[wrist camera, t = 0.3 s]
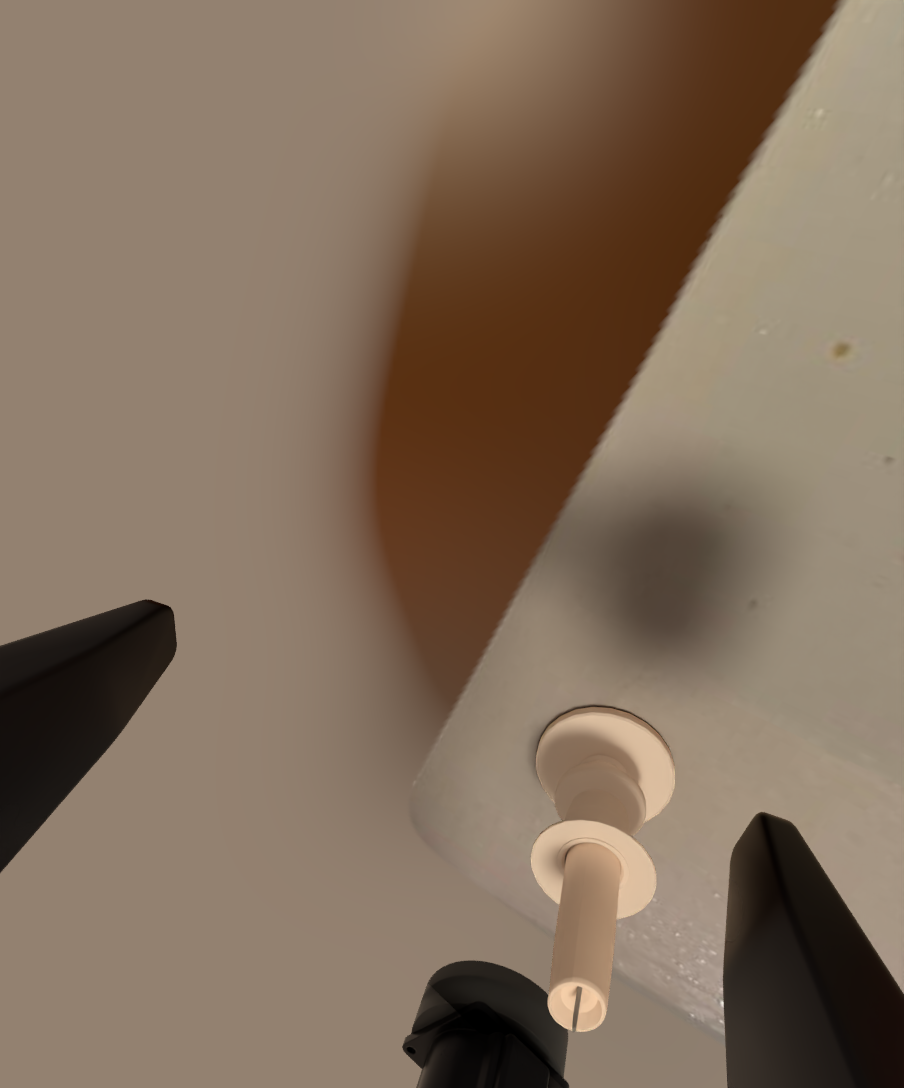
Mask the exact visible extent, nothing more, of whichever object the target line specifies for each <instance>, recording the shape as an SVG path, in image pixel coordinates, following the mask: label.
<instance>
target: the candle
mask: <svg viewBox="0 0 904 1088" xmlns="http://www.w3.org/2000/svg"><path fill="white" fill-rule="evenodd" d="M536 769H537V774H538V777H539V780H540V782H541V785H542V787H543V789H544V790H545V791H546V793H547V794H548V796H549V797H550V799H551V800H552V801H553V802H554V803H555V807H556V810H557V813H558V815H559V817H560V818H561V820H562V821H560V822H558V823H555V824H552V825H551V826H549V827H548V828H546V829H545V830H544V831H542V832H541V833H540V835H539V836H538V838H537V839H536V841H535V842H534V845H533V849H532V853H531V865H532V870H533V873H534V876H535V878H536V881H537V882H538V884H539V885H540V886H541V888H542V889H543V891H544V892H545V893H546V894H547V895H548V896H549V897H550V898H551V899H553V900H554V901H555V902H556V903H557V904H559V912H558V919H557V926H556V933H555V940H554V948H553V959H552V968H551V978H550V988H549V996H548V1008H549V1011H550V1014H551V1015H552V1017H553V1018H554V1020H555V1021H556V1022H557V1023H559V1024H560V1025H561V1026H563V1027H565V1028H566V1029H569V1030H572V1031H573V1032H575V1031H578V1032H584V1031H590V1030H592V1029H595V1028H596V1027H598V1026H599V1025H600V1024H601V1023H602V1022H603V1020H604V1019H605V1016H606V1012H607V1006H608V998H609V989H610V980H611V972H612V963H613V955H614V944H615V932H616V920H617V919H621V918H625V917H628V916H632V915H634V914H635V913H637V912H639V911H640V910H642V909H644V907H645V906H646V905H647V904H648V903H649V902H650V901H651V899H652V897H653V895H654V892H655V889H656V870H655V867H654V864H653V861H652V858H651V857H650V855H649V854H648V853H647V851H646V850H645V848H644V847H643V845H641V844H640V843H639V842H638V841H637V840H636V839H635V838H634V837H632V836H633V835H635V834H636V833H637V832H638V831H639V830H640V829H641V827H642V826H643V824H644V822H646V821H648V820H650V819H651V818H653V817H654V816H656V815H657V814H659V813H660V812H661V811H662V810H663V808H664V807H665V806H666V805H667V803H668V802H669V801H670V798H671V796H672V793H673V790H674V787H675V765H674V762H673V758H672V755H671V752H670V749H669V748H668V746H667V745H666V743H665V742H664V740H663V739H662V737H661V736H660V735H659V734H658V733H657V732H656V731H655V730H654V729H653V728H652V727H650V726H649V725H648V724H647V723H646V722H644V721H642V720H640V719H639V718H637V717H635V716H633V715H631V714H630V713H626V712H623V711H619V710H616V709H613V708H603V707H588V708H582V709H576V710H573V711H571V712H569V713H566V714H564V715H562V716H560V717H559V718H557V719H556V720H555V721H554V722H553V723H551V724H550V725H549V726H548V727H547V729H546V731H545V732H544V734H543V735H542V737H541V739H540V743H539V746H538V750H537V754H536Z"/></svg>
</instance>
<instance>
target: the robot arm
mask: <svg viewBox="0 0 904 1088" xmlns="http://www.w3.org/2000/svg"><path fill="white" fill-rule="evenodd" d="M176 647H177V642H176V632H175V621H174V614H173V611H172V609H171V607H169V606H167V605H164V604H161V603H158V602H155V601H152V600H142V601H138V602H135V603H132V604H129V605H126V606H123V607H120V608H117V609H114V610H111V611H107V612H104V613H101V614H98V615H95V616H92V617H89V618H86V619H83V620H79V621H76V622H73V623H70V624H67V625H64V626H61V627H58V628H54V629H51V630H48V631H45V632H42V633H39V634H36V635H33V636H29V637H27V638H23V639H20V640H17V641H14V642H11V643H8V644H5V645H1V646H0V872H1V871H2V870H3V869H4V868H5V867H6V866H7V865H8V863H9V862H10V861H11V860H12V859H13V858H14V856H15V855H16V854H17V853H18V852H19V851H20V850H21V848H22V847H23V846H24V845H25V844H26V843H27V842H28V840H29V839H30V838H31V837H32V836H33V835H34V833H35V832H36V831H37V830H38V829H39V828H40V826H41V825H42V824H43V823H44V822H45V821H46V820H47V818H48V817H49V816H50V815H51V814H52V813H53V811H54V810H55V809H56V808H57V807H58V805H59V804H60V803H61V802H62V801H63V800H64V799H65V798H66V797H67V795H68V794H69V793H70V792H71V791H72V790H73V788H74V787H75V786H76V785H77V784H78V783H79V781H80V780H81V779H82V778H83V777H84V776H85V775H86V773H87V772H88V771H89V770H90V769H91V767H92V766H93V765H94V764H95V763H96V762H97V761H98V760H99V758H100V757H101V756H102V755H103V754H104V753H105V751H106V750H107V749H108V748H109V747H110V745H111V744H112V743H113V742H114V741H115V739H116V738H117V737H118V735H119V734H120V733H121V732H122V730H123V729H124V728H125V726H126V725H127V723H128V722H129V720H130V719H131V718H132V716H133V715H134V713H135V712H136V711H137V709H138V708H139V706H140V705H141V704H142V702H143V701H144V699H145V698H146V696H147V695H148V694H149V692H150V691H151V689H152V688H153V687H154V685H155V684H156V682H157V681H158V679H159V678H160V677H161V675H162V674H163V672H164V671H165V670H166V668H167V667H168V665H169V664H170V662H171V661H172V659H173V657H174V655H175V652H176ZM723 998H724V1020H725V1042H726V1062H727V1083H728V1084H727V1085H728V1088H904V994H903V992H902V991H901V989H900V988H899V986H898V984H897V983H896V981H895V980H894V978H893V977H892V975H891V974H890V972H889V970H888V969H887V967H886V966H885V964H884V963H883V961H882V960H881V958H880V957H879V955H878V953H877V952H876V950H875V949H874V947H873V946H872V944H871V943H870V941H869V940H868V938H867V936H866V935H865V933H864V932H863V930H862V929H861V927H860V926H859V924H858V922H857V921H856V919H855V918H854V916H853V915H852V913H851V912H850V910H849V909H848V907H847V905H846V904H845V902H844V901H843V899H842V898H841V896H840V895H839V893H838V892H837V890H836V888H835V887H834V885H833V884H832V882H831V881H830V879H829V878H828V876H827V874H826V873H825V871H824V870H823V868H822V867H821V865H820V864H819V862H818V861H817V859H816V857H815V856H814V854H813V853H812V851H811V850H810V848H809V847H808V845H807V844H806V842H805V840H804V839H803V837H802V836H801V834H800V833H799V831H798V830H797V828H796V827H795V826H794V825H793V824H792V823H791V822H790V821H788V820H785V819H782V818H779V817H776V816H774V815H771V814H768V813H765V812H760V813H758V814H756V815H755V817H754V818H753V819H752V821H751V822H750V824H749V825H748V827H747V828H746V830H745V831H744V833H743V834H742V836H741V837H740V839H739V840H738V842H737V843H736V845H735V847H734V849H733V852H732V856H731V861H730V874H729V889H728V904H727V919H726V934H725V950H724V968H723ZM403 1050H404V1052H405V1053H406V1054H407V1055H408V1056H409V1057H410V1058H411V1059H412V1060H413V1061H414V1062H415V1063H416V1064H417V1065H418V1066H419V1067H420V1068H422V1072H421V1075H420V1078H419V1081H418V1084H417V1087H416V1088H569V1084H568V1082H567V1081H566V1080H565V1079H564V1078H563V1077H562V1076H561V1075H560V1074H559V1073H558V1072H557V1071H556V1070H555V1069H554V1068H553V1067H551V1066H550V1065H549V1064H548V1063H547V1062H546V1061H545V1060H544V1059H543V1058H542V1057H541V1056H540V1055H539V1054H538V1053H537V1052H536V1051H535V1050H534V1049H533V1048H532V1047H531V1046H530V1045H529V1044H528V1043H527V1042H526V1041H525V1040H524V1039H522V1038H521V1037H520V1036H519V1035H518V1034H517V1033H516V1032H515V1031H514V1030H513V1029H512V1028H511V1027H510V1026H509V1025H508V1024H507V1023H506V1022H505V1021H504V1020H503V1019H502V1018H501V1017H500V1016H499V1015H498V1014H497V1013H496V1012H495V1011H494V1010H492V1009H491V1008H490V1007H489V1006H488V1005H487V1004H486V1003H484V1002H481V1001H475V1002H473V1003H471V1004H469V1005H467V1006H465V1007H463V1008H461V1009H459V1010H457V1011H455V1012H453V1013H451V1014H449V1015H448V1016H446V1017H444V1018H442V1019H440V1020H438V1021H436V1022H434V1023H432V1024H430V1025H428V1026H426V1027H424V1028H422V1029H420V1030H418V1031H416V1032H414V1033H412V1034H411V1035H409V1036H407V1037H406V1038H405V1041H404V1044H403Z"/></svg>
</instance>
